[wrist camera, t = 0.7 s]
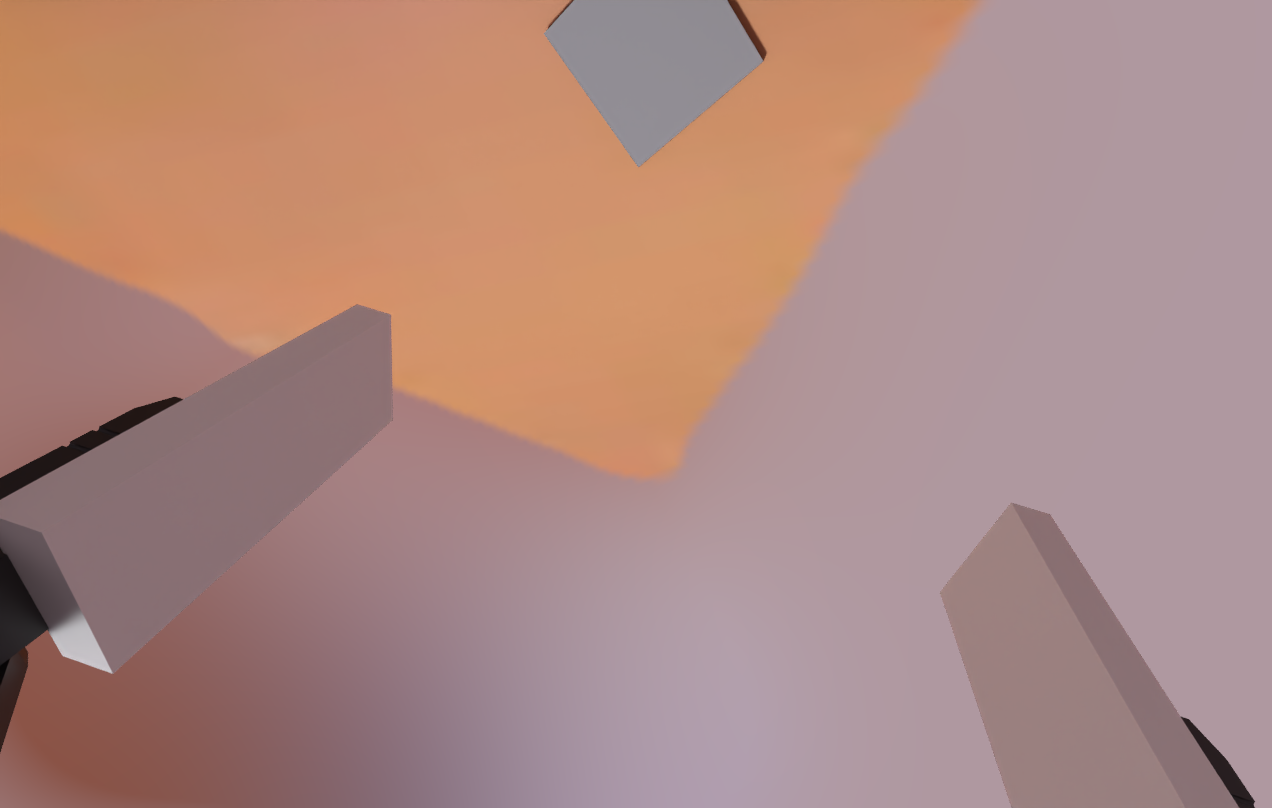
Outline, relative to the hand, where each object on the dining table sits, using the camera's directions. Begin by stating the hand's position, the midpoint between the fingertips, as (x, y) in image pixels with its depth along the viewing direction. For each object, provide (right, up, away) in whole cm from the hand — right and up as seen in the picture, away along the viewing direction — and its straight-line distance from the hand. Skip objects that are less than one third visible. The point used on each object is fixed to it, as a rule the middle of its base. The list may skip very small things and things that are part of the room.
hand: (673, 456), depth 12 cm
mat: (0, +19, +17) cm, 25 cm away
